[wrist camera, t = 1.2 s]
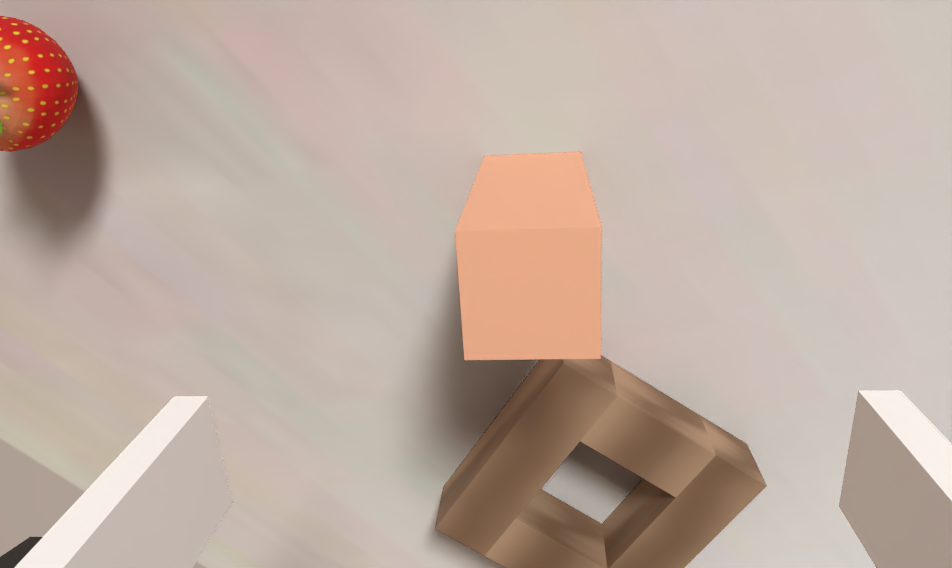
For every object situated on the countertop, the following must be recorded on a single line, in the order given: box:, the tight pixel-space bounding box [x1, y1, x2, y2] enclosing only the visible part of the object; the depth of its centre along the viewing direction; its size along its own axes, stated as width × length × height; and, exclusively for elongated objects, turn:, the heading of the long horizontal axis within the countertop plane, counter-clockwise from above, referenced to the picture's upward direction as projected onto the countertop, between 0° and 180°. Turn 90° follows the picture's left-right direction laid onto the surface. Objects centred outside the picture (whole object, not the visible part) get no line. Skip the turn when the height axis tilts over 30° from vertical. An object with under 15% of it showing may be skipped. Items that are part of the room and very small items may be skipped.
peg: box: [455, 152, 602, 360], centre depth 27 cm, size 4×4×12 cm
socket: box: [435, 356, 767, 568], centre depth 37 cm, size 12×12×4 cm
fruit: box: [0, 16, 78, 151], centre depth 29 cm, size 5×5×8 cm
